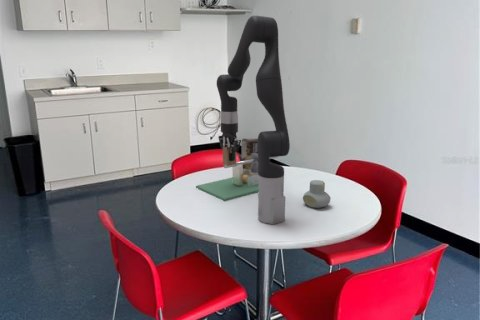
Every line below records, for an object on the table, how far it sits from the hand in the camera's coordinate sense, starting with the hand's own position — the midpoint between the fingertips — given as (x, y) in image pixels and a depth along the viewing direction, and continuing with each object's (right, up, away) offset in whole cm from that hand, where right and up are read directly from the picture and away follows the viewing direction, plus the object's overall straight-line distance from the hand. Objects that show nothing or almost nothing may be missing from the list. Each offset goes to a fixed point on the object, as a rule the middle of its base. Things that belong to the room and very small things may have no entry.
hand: (229, 159), depth 189 cm
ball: (+7, -9, +8) cm, 14 cm away
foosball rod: (+10, -10, +11) cm, 18 cm away
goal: (+7, -11, +9) cm, 16 cm away
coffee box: (+10, -5, +33) cm, 35 cm away
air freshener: (+35, -19, -16) cm, 43 cm away
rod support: (+13, -11, +13) cm, 21 cm away
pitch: (+1, -13, +4) cm, 14 cm away
